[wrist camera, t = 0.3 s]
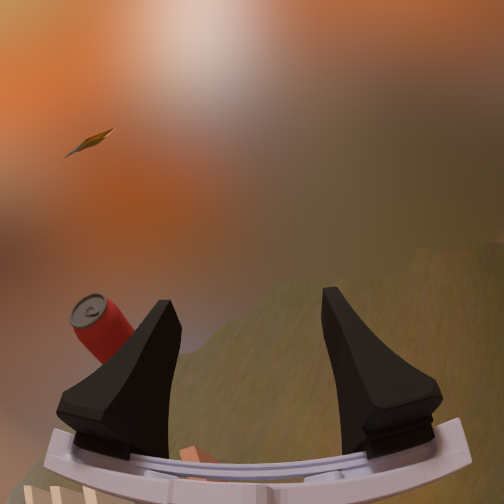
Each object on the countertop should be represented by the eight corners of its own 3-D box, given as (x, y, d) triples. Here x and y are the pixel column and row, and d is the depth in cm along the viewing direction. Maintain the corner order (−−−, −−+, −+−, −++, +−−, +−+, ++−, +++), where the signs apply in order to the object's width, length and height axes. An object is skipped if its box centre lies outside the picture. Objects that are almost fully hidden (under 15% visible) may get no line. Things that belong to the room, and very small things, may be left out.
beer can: (142, 389, 32) (90, 336, 25) (108, 377, 34) (57, 325, 27) (161, 350, 37) (119, 291, 30) (127, 342, 39) (85, 286, 32)
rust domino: (219, 460, 24) (194, 445, 20) (231, 491, 21) (208, 485, 17) (206, 464, 24) (179, 450, 19) (218, 495, 21) (192, 489, 16)
